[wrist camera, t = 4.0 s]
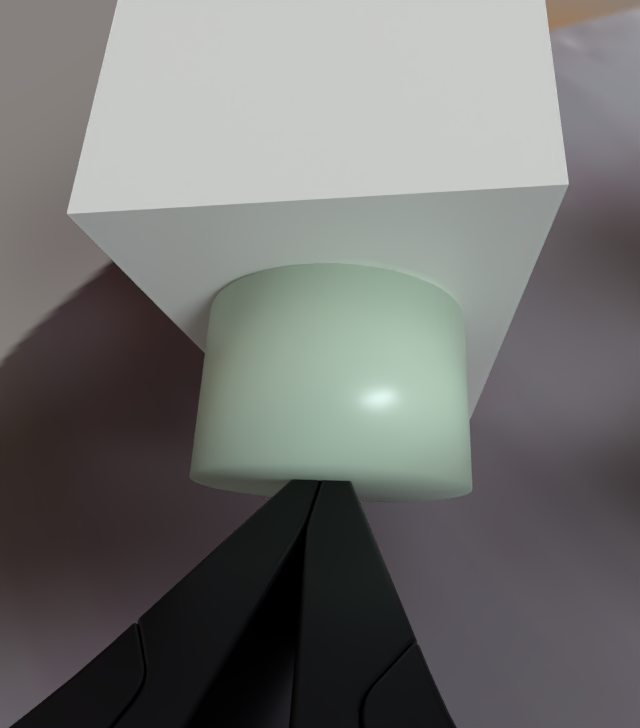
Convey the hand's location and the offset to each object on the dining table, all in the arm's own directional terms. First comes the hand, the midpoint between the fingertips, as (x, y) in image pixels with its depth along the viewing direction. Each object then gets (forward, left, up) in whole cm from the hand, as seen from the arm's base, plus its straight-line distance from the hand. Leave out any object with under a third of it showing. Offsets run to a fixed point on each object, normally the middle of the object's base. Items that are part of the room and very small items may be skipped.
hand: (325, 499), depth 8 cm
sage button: (+2, +2, -2) cm, 4 cm away
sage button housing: (+4, +4, -7) cm, 9 cm away
